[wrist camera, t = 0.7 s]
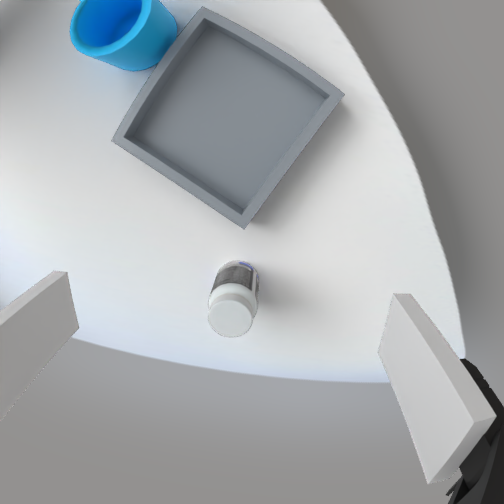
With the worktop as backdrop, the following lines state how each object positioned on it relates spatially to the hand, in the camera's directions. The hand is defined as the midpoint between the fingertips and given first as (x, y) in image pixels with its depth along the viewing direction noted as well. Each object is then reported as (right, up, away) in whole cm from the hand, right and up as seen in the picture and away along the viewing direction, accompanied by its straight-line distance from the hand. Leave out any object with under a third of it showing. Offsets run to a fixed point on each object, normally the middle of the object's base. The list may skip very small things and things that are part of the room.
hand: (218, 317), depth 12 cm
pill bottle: (0, 0, +24) cm, 24 cm away
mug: (-12, +27, +15) cm, 33 cm away
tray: (-1, +16, +18) cm, 24 cm away
